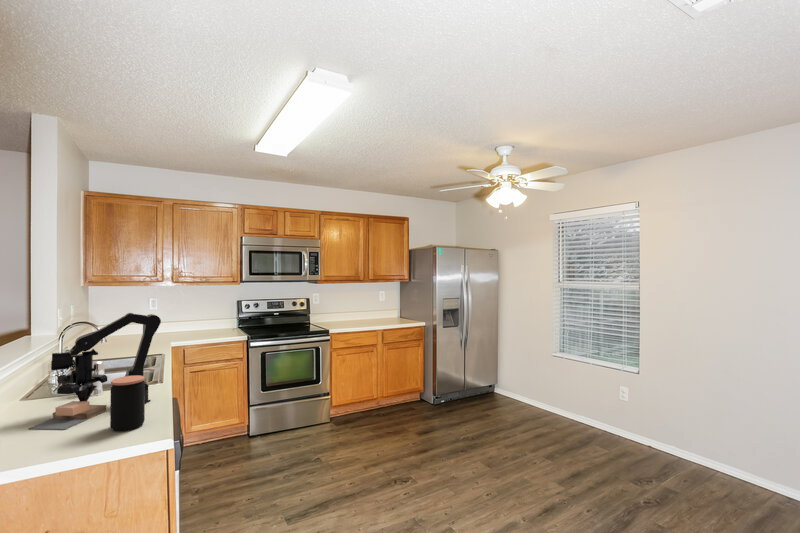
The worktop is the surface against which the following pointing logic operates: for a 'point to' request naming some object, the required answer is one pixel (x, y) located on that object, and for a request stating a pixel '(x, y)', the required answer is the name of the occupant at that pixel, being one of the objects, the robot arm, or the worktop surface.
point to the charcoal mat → (57, 424)
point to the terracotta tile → (72, 408)
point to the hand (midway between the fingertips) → (83, 404)
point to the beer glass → (98, 371)
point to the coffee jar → (127, 403)
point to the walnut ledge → (86, 413)
